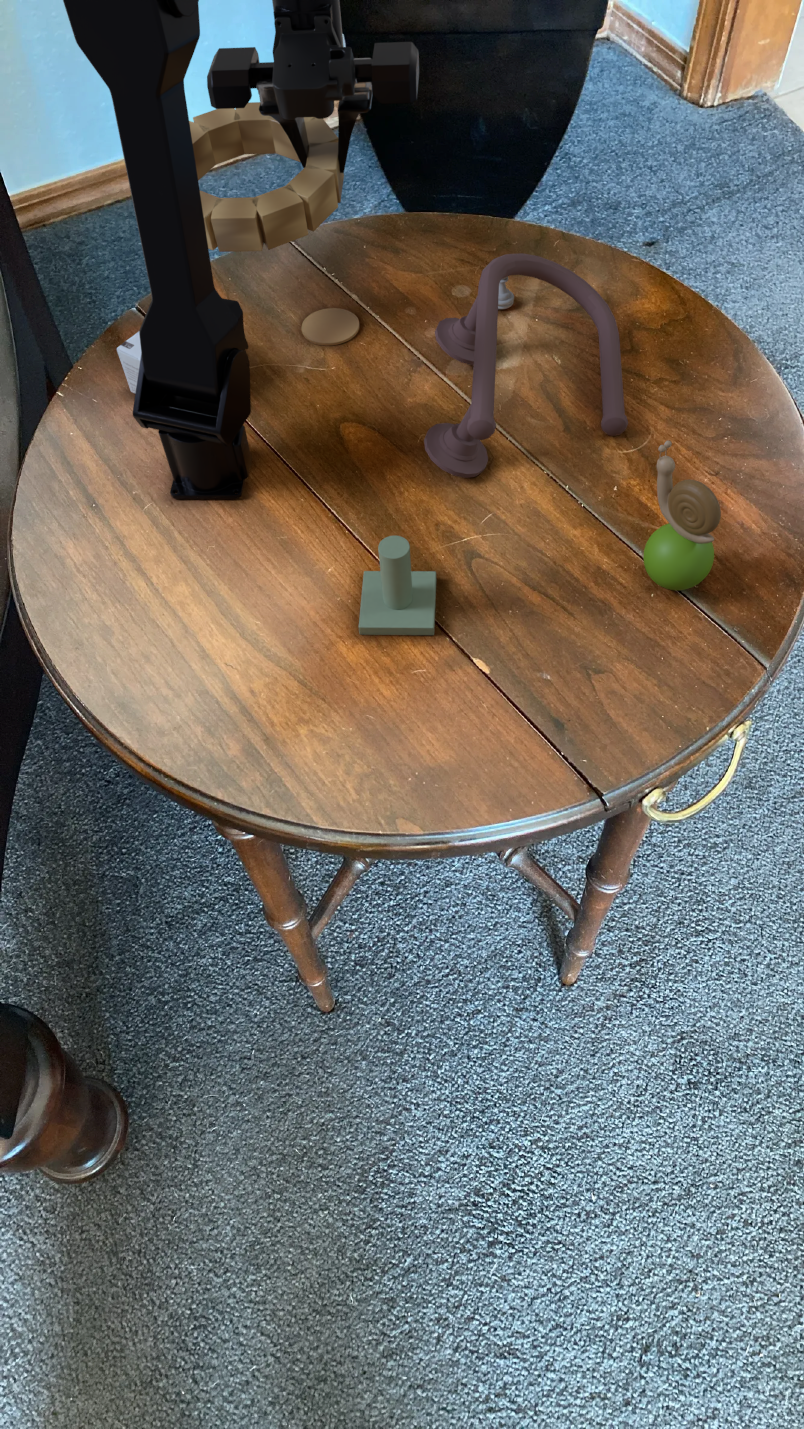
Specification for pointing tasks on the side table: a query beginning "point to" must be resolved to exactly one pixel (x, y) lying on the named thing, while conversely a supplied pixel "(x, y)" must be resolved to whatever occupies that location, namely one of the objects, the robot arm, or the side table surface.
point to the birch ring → (277, 210)
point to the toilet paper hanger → (477, 346)
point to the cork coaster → (330, 326)
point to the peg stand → (397, 594)
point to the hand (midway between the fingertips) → (325, 171)
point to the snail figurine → (681, 530)
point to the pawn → (504, 295)
